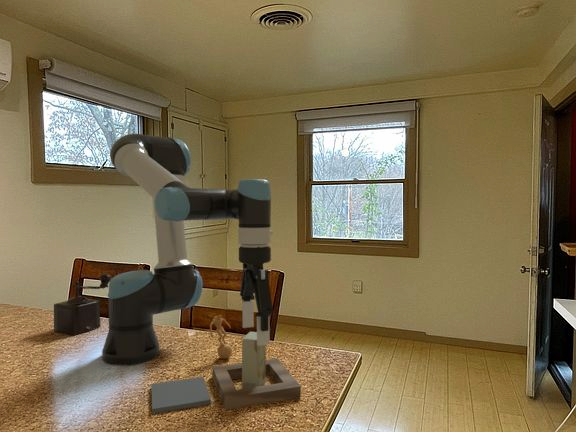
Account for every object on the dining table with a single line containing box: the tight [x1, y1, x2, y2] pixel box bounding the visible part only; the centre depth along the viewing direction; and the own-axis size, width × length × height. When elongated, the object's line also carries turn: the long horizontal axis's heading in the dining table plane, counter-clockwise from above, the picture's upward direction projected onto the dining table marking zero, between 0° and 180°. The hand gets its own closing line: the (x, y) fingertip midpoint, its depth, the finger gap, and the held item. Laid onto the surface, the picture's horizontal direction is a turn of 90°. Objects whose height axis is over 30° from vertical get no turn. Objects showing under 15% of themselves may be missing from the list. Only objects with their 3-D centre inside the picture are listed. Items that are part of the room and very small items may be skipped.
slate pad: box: [150, 376, 212, 415], centre depth 90 cm, size 12×12×1 cm
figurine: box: [209, 314, 233, 360], centre depth 112 cm, size 8×6×12 cm
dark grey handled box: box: [53, 273, 113, 337], centre depth 137 cm, size 16×11×18 cm
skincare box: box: [241, 331, 267, 389], centre depth 94 cm, size 6×4×12 cm
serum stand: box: [211, 357, 302, 411], centre depth 94 cm, size 17×17×2 cm
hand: (255, 335), depth 94 cm, fingers open, 13 cm apart
